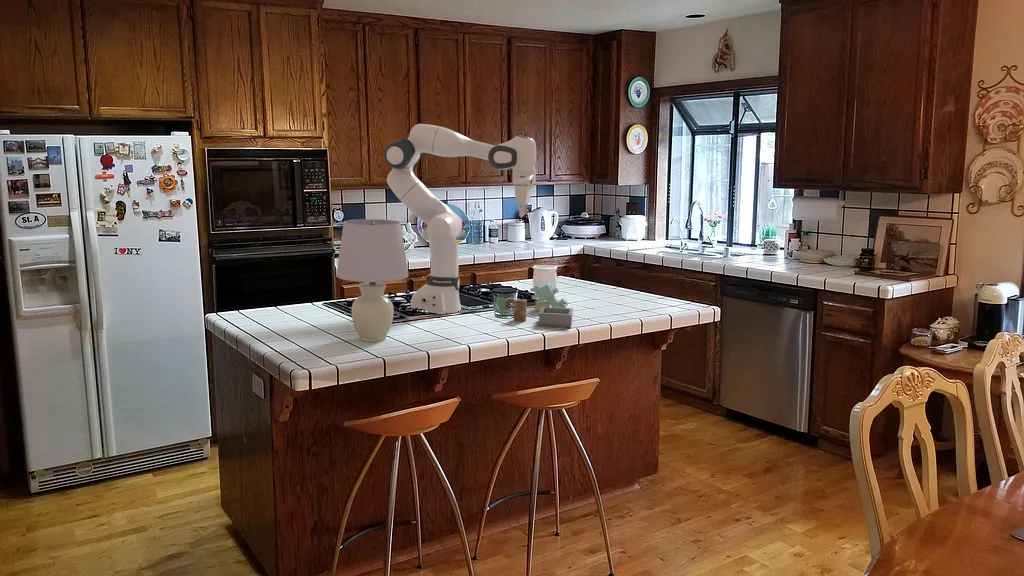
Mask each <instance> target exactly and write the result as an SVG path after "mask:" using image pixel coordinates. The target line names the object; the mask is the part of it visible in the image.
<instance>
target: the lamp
mask: <svg viewBox="0 0 1024 576" xmlns="http://www.w3.org/2000/svg"><path fill="white" fill-rule="evenodd" d="M404 243H405V242H404V236H403V231H402V222H401V221H398V220H392V219H381V218H380V219H376V218H375V219H374V218H373V219H371V218H370V219H369V218H367V219H366V218H365V219H349V220H348V219H347V220H344V221H343V223H342V232H341V239H340V246H339V252H338V253H339V254H338V260H337V267H336V274H335V276H336V278H338V279H340V280H344V281H348V282H359V285H358V288H359V291H360V294H361V295H360V296H357V298H355V300H354V301H353V303H352V305H351V319H352V323H353V326H354V328H355V331H356V333H357V335H358V336H359V339H360V341H362V342H367V343H376V342H377V343H378V342H384V341H385V340H386V339H387V335H388V334H389V331H390V329H391V327H392V324H393V320H394V314H395V313H394V312H395V311H394V309H395V308H394V304H393V302H392V301H391V299H390V298H389V297H387V296H386V295H385V294H384V293H385V292H386V291H385V290H386V288H387V284H386V283H385V282H396V281H401V280H406V279H407V278H409V270H408V269H409V268H408V264H407V263H408V262H407V257H406V256H407V255H406V251H405V244H404ZM360 282H361V283H360Z"/></svg>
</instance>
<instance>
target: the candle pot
mask: <svg viewBox="0 0 1024 576" xmlns="http://www.w3.org/2000/svg"><path fill="white" fill-rule="evenodd" d="M573 313H574V308H572V307H565V308H557V307H551V306H550V307H542V308H541V310H540V311H539V314H538V327H542V326H556V327H555V328H560V327H571V328H572V325H573V316H574V314H573Z"/></svg>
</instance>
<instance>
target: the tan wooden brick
mask: <svg viewBox="0 0 1024 576" xmlns="http://www.w3.org/2000/svg"><path fill="white" fill-rule="evenodd" d="M513 303H514V305H513V321H514V322H524V321H525V322H526V321H527V306H528V304H527V303H528V300H527V299H518V298H517V299H514V301H513Z"/></svg>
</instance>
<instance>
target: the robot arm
mask: <svg viewBox="0 0 1024 576" xmlns="http://www.w3.org/2000/svg"><path fill="white" fill-rule="evenodd" d="M422 153H425V154H430V155H433V156H438V157H444V158H456V157H457V158H458V157H471V158H472V157H473V158H476V159H477V158H478V159H481V160H485V161H488V163H489V165H490V166H491V167H492V168H494V169H496V170H501V171H502V170H503V171H505V170H506V171H507V170H512V184H513V185H514V196H515V204H516V205H517V206H518V211H519V212H518V215H519V217H522V218H523V217H524V216H525V215H527V213H528V204H529V203H530V202H531V193H532V192H531V189H533V185H536V180H537V179H536V177H537V176H536V175H537V170H536V161H537V145H536V141H535V140H534V139H533V138H531V137H529V136H524V135H516V136H515V137H513V138H512V139H510V140H508V141H505V142H503V143H498V144H490V143H486V142H482V141H477V140H475V139H471V138H469V137H467V136H465V135H464V134H463V135H462V134H461V133H459V132H456V131H455V130H453V129H449V128H447V127H443V126H439V125H434V124H427V123H418V124H417V123H416V124H415V125H414V126H413V127H412V128H411V129H410V131H409V136H408V137H407V138H405V137H403V138H401V139H397V140H394V141H391V142H390V143H388V144H387V146H386V147H385V148H384V152H383V158H384V161H385V162H386V164H387V165H388V166H389V167H390V168H392V169H391V170H390V171H389V173H388V174H387V177H386V182H387V185H388V186H389V187H388V188H390V189H391V191H392V192H393V193H394V195H395V196H396V197H397V198H398V201H400V202H401V203H402V204H403V205H404V206H405V207H406V208H407V209H408V210H409V211H410V212H411V214H413V216H415V217H416V218H418V219H419V220H421V221H422V222H423V223H425V224H426V225H427V227H426V234H427V236H428V237H427V238H428V246H429V252H430V273H429V274H427V275H426V276H425V278H424V279H425V284H424V285H423V286H421V287H420V288H418V290H416V291H415V292H413V294H412V296H411V301H410V303H409V304H408V305H411V306H410V307H411V308H418V309H423V311H428V312H432V313H438V314H441V315H445V314H446V313H447V314H453V313H454V314H455V313H459V312H461V311H462V310H461V308H462V305H461V301H460V300H461V299H460V291H459V289H460V284H461V282H460V280H461V279H460V275H459V253H458V247H457V237H458V236H459V235H460V233H461V231H462V228H463V222H462V219H461V217H460V216H459V215H458V214H456V213H455V212H454V211H453V210H452V209H451V208H449V206H447V205H446V204H445V203H444V202H443V201H441V200H440V199H439V198H437V196H435V194H434V193H432V192H431V191H430V189H428V188H427V187H426V185H425V184H424V183H423V182H422V181H421V180H420V179H419V178H418V177H417V176H416V175H415V173H414V171H415V170H416V168H417V166H418V163H419V162H420V160H421V158H422ZM424 309H425V310H424ZM460 310H461V311H460ZM458 311H459V312H458ZM438 314H437V315H438Z"/></svg>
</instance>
